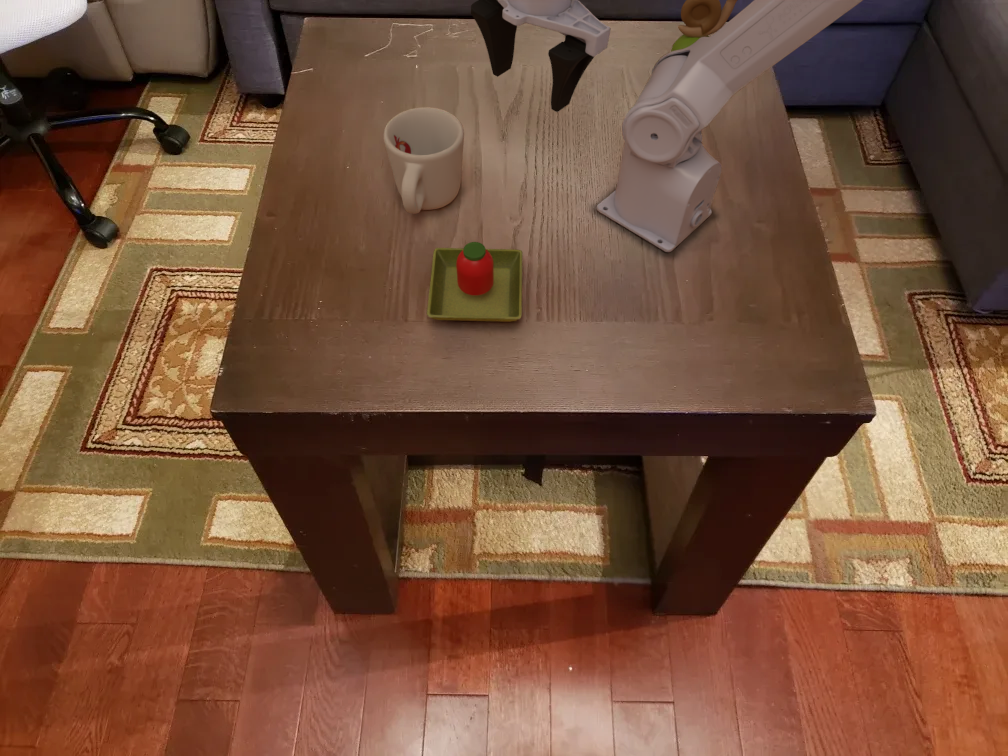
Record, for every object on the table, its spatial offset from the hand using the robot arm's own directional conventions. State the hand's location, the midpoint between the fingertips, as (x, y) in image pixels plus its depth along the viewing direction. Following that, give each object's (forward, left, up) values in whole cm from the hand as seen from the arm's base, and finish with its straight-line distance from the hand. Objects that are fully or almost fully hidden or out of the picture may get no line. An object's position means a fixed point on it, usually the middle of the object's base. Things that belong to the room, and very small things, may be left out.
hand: (530, 88), depth 73 cm
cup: (+5, +11, -11) cm, 16 cm away
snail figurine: (-3, -27, -11) cm, 29 cm away
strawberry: (-8, +17, -8) cm, 20 cm away
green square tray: (-8, +17, -11) cm, 21 cm away
